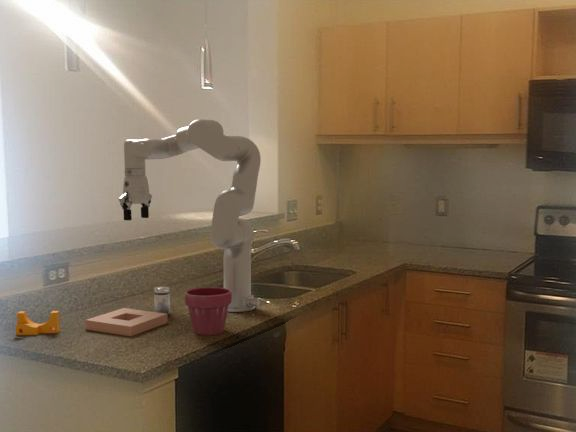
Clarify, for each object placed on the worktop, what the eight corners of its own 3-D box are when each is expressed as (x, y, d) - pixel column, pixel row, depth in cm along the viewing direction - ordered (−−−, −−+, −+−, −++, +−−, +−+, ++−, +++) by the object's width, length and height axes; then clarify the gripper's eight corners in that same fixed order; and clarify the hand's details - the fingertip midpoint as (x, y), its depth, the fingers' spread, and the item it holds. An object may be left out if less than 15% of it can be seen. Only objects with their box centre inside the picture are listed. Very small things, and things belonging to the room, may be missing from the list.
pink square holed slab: (167, 322, 227) (167, 313, 227) (131, 336, 211) (130, 326, 211) (124, 316, 235) (123, 307, 235) (85, 329, 219) (85, 319, 219)
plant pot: (210, 323, 226) (209, 284, 225) (241, 330, 217) (241, 290, 216) (176, 332, 215) (175, 291, 214) (207, 340, 206) (207, 298, 205)
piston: (173, 313, 240) (172, 287, 239) (163, 316, 235) (163, 290, 235) (160, 311, 243) (160, 285, 242) (150, 314, 238) (150, 288, 237)
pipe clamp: (15, 335, 213) (15, 314, 213) (20, 331, 218) (19, 311, 217) (55, 334, 214) (55, 314, 213) (59, 331, 218) (59, 310, 217)
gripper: (127, 174, 250) (128, 221, 252) (158, 172, 265) (159, 217, 267) (111, 173, 254) (112, 220, 255) (142, 172, 269) (143, 216, 270)
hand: (136, 219), depth 261 cm, fingers open, 9 cm apart
